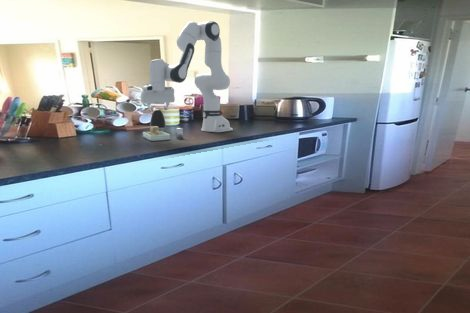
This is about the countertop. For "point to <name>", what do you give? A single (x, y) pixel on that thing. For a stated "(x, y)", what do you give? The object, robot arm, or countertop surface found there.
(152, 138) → the tray
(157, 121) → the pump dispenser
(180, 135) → the metal cylinder
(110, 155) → the countertop surface
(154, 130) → the beech block
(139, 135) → the countertop surface
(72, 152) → the countertop surface
